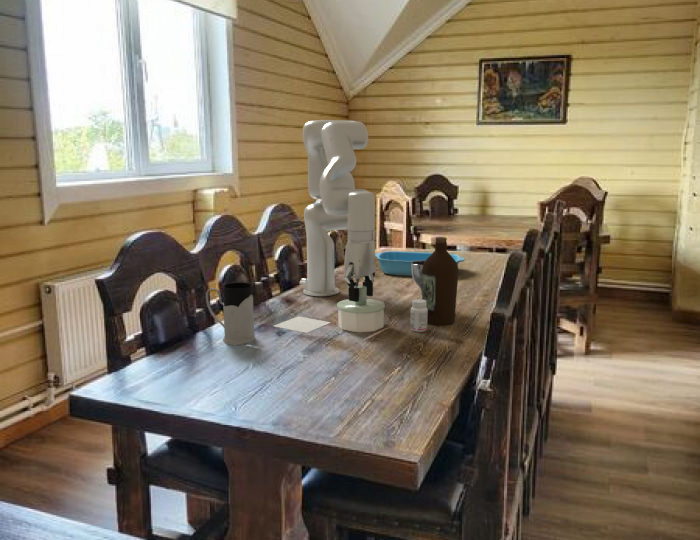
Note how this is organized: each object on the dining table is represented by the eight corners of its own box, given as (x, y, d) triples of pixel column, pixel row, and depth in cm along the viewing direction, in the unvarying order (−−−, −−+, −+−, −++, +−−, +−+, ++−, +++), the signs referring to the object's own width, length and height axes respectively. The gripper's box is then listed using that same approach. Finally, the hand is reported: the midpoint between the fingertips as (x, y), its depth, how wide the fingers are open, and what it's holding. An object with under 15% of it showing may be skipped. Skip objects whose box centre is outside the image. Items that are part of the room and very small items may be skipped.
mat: (272, 327, 176) (272, 326, 176) (298, 317, 186) (298, 316, 186) (306, 334, 170) (306, 332, 170) (331, 324, 180) (331, 322, 180)
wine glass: (434, 312, 192) (436, 265, 189) (409, 311, 194) (410, 264, 191) (436, 306, 200) (437, 260, 197) (411, 304, 201) (412, 259, 198)
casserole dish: (464, 269, 260) (465, 252, 259) (463, 280, 239) (464, 262, 237) (378, 265, 267) (378, 249, 266) (369, 276, 246) (369, 258, 244)
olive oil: (443, 314, 190) (446, 234, 185) (464, 323, 180) (467, 239, 175) (414, 318, 186) (415, 236, 181) (433, 327, 176) (435, 241, 171)
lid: (327, 308, 174) (327, 288, 172) (353, 298, 185) (353, 279, 184) (368, 315, 166) (369, 295, 165) (393, 305, 178) (393, 285, 176)
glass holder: (245, 346, 160) (243, 290, 157) (199, 340, 165) (196, 286, 162) (261, 336, 168) (260, 283, 165) (217, 331, 173) (214, 279, 170)
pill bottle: (428, 328, 176) (429, 299, 174) (425, 332, 172) (425, 303, 170) (412, 326, 178) (413, 298, 176) (408, 331, 173) (409, 302, 171)
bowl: (331, 329, 175) (331, 308, 174) (354, 319, 185) (354, 299, 184) (367, 336, 168) (368, 315, 167) (389, 325, 179) (390, 305, 177)
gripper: (365, 231, 181) (365, 290, 184) (332, 239, 166) (332, 303, 170) (388, 233, 177) (387, 293, 180) (355, 241, 162) (355, 306, 166)
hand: (360, 297), depth 175 cm, fingers open, 6 cm apart
